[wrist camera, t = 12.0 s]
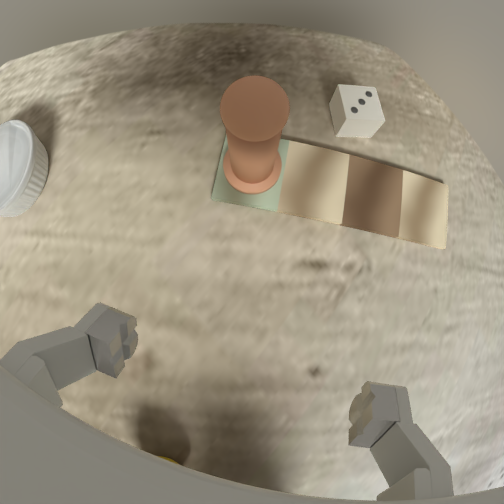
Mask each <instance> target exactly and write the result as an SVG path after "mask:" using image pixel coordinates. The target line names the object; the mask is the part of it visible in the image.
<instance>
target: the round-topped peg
mask: <svg viewBox="0 0 504 504" xmlns="http://www.w3.org/2000/svg"><path fill="white" fill-rule="evenodd" d="M289 112H290V105H289V100H288V97H287V95H286V93H285V91H284V90H283V89H282V87H281V86H280V85H279V84H278V83H276V82H275V81H273V80H271V79H269V78H267V77H263V76H257V75H253V76H246V77H243V78H240V79H238V80H236V81H235V82H233V83H232V84H231V85H230V86H229V87H228V88H227V89H226V90H225V92H224V94H223V96H222V99H221V103H220V115H221V118H222V121H223V123H224V125H225V127H226V134H227V141H228V148H229V149H228V150H227V152H226V154H225V156H224V160H223V169H224V174H225V177H226V179H227V181H228V183H229V184H230V185H231V186H232V187H233V188H234V189H236V190H237V191H239V192H242V193H245V194H260V193H263V192H266V191H267V190H269V189H270V188H272V187H273V186H274V185H275V183H276V182H277V180H278V178H279V176H280V173H281V168H282V161H281V157H280V154H279V152H278V146H279V142H280V138H281V133H282V129H283V128H284V126H285V124H286V122H287V120H288V117H289Z"/></svg>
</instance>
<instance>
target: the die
mask: <svg viewBox="0 0 504 504" xmlns="http://www.w3.org/2000/svg"><path fill="white" fill-rule="evenodd" d="M329 107H330V112H331V116H332V121H333V126H334V131H335V136H336V137H367V138H371V137H372V136H373V135H374V134H375V132H376V131H377V130H378V129H379V128H380V126H381V125H382V124H383V123H384V122H385V119H384V115H383V111H382V108H381V104H380V101H379V98H378V94H377V91H376V88H375V87H368V86H357V85H342V84H338V85H337V88H336V90H335V92H334V94H333V96H332V99H331V101H330V103H329Z"/></svg>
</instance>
